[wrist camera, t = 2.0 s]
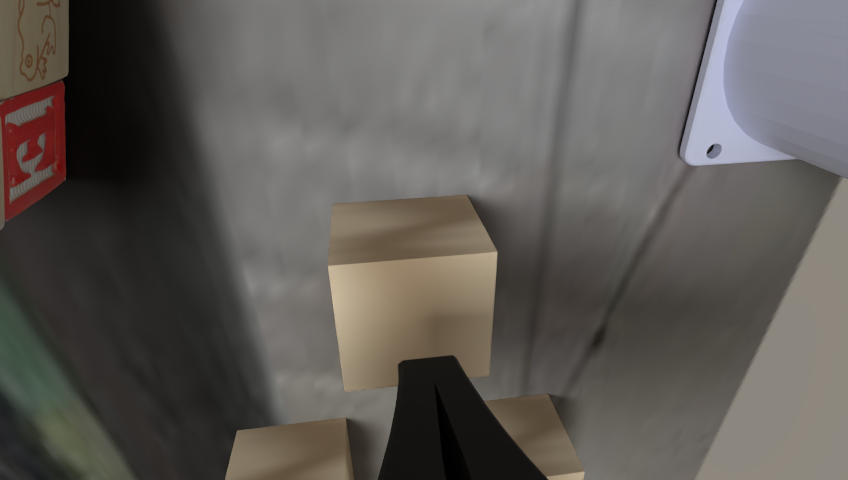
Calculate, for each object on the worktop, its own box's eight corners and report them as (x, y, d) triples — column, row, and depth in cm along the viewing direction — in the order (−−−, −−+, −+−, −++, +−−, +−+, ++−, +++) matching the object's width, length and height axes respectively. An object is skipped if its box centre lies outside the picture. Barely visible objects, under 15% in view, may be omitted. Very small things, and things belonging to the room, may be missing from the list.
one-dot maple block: (547, 391, 22) (586, 474, 18) (537, 457, 24) (570, 542, 20) (448, 403, 21) (469, 491, 18) (447, 469, 23) (465, 559, 20)
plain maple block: (466, 193, 16) (497, 251, 13) (463, 300, 19) (488, 376, 15) (332, 202, 16) (327, 265, 12) (345, 311, 18) (344, 391, 15)
